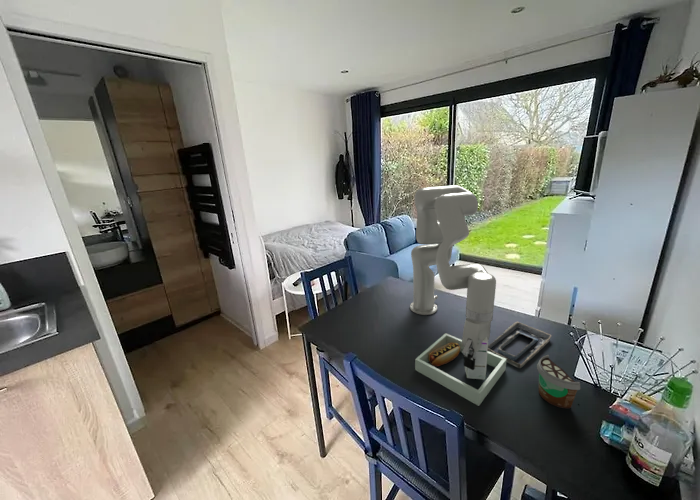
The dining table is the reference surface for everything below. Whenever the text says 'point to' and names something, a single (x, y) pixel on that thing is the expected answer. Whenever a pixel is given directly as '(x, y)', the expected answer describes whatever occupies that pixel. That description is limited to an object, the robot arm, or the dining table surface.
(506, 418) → the dining table surface
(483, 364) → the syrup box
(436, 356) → the hot dog
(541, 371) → the food container
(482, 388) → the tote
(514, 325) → the picture frame
